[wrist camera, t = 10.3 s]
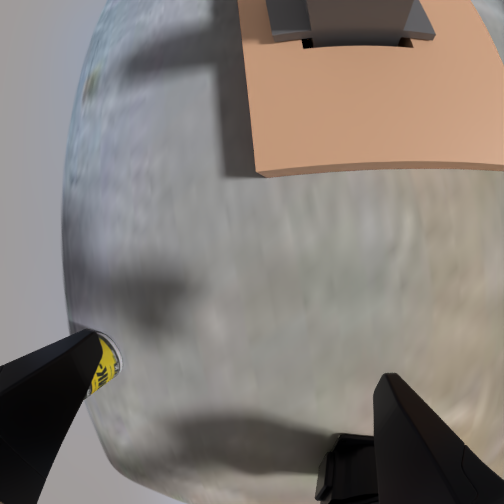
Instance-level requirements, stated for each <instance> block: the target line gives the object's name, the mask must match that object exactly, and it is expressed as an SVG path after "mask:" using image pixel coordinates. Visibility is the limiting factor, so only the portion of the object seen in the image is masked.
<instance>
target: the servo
mask: <svg viewBox="0 0 504 504" xmlns="http://www.w3.org/2000/svg"><path fill="white" fill-rule="evenodd" d="M266 5H267V10H268V16H269V21H270V26H271V32H272V36H273V39H274V41H275V42H281V41H288V40H296V39H305V38H310V39H311V43H312V48H320V47H335V46H392V47H397V46H398V43H399V41H400V38H401V37H405V38H416V39H424V40H432V41H433V39H434V37H435V36H436V33H435V31H434V29H433V27H432V25H431V22H430V20H429V18H428V16H427V14H426V12H425V11H424V9H423V7H422V5H421V3H420V1H419V0H266Z"/></svg>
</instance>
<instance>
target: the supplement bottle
mask: <svg viewBox="0 0 504 504" xmlns="http://www.w3.org/2000/svg"><path fill="white" fill-rule="evenodd" d="M97 334H98V336H99V339H100V342H101V345H102V348H103V356H102V359H101V361H100V363H99V366H98V368H97V370H96V373H95V375H94V378H93V380H92V383H91V385H90V387H89V390H88V392H87V394H86V396H85V398H84V399H86V398H87V397H88V396H90V395H91V394H92V393H94V392H95V391H96V390H98V389H99V388H100V387H102V386H103V385H105V384H106V383H107V382H109V381H110V380H111V379H113V378H114V377H115V376H117V375H118V374H119V373H120V372H121V370H122V365H123V364H122V358H121V355H120V352H119V350H118V348H117V346H116V345H115V343H114V342H113V341H112V340H111V339H110V338H109V337H108V336H106V335H104V334H102V333H97Z"/></svg>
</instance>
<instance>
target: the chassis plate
mask: <svg viewBox="0 0 504 504" xmlns="http://www.w3.org/2000/svg"><path fill="white" fill-rule="evenodd" d="M419 1H420V3H421V5H422V7H423V9H424V11H425V12H426V14H427V16H428V18H429V20H430V22H431V25H432V27H433V29H434V31H435V33H436V36H435V37H434V39H433V41H432V40H424V39H416V38H405V37H401V38H400V41H399V43H398V46H397V47H392V46H335V47H320V48H308V49H303V45H302V41H301V39H296V40H288V41H281V42H275V41H274V39H273V36H272V32H271V26H270V21H269V16H268V10H267V5H266V0H237V2H238V10H239V18H240V27H241V35H242V44H243V53H244V62H245V71H246V80H247V89H248V99H249V108H250V118H251V127H252V137H253V147H254V157H255V167H256V172H257V173H259V174H261V175H263V176H265V177H266V178H271V177H281V176H290V175H301V174H312V173H325V172H339V171H356V170H377V169H471V170H491V171H504V65H503V63H502V60H501V58H500V56H499V53H498V51H497V49H496V47H495V45H494V42H493V40H492V38H491V36H490V34H489V32H488V30H487V28H486V26H485V25H484V23H483V21H482V19H481V17H480V15H479V14H478V12H477V10H476V9H475V7H474V5H473V4H472V2H471V0H419Z"/></svg>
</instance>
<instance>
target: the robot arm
mask: <svg viewBox="0 0 504 504" xmlns="http://www.w3.org/2000/svg"><path fill="white" fill-rule="evenodd" d="M102 356H103V348H102V345H101V342H100V339H99V336H98V334H97V332H95V331H93V330H89V329H84V330H82V331H80V332H77V333H75V334H73V335H71V336H68V337H66V338H64V339H62V340H59V341H57V342H55V343H53V344H50V345H48V346H45V347H43V348H41V349H39V350H37V351H34V352H32V353H30V354H28V355H25V356H23V357H20V358H18V359H16V360H13V361H11V362H9V363H7V364H5V365H2V366H0V504H37V501H38V499H39V496H40V494H41V491H42V489H43V486H44V484H45V481H46V478H47V476H48V474H49V471H50V469H51V467H52V464H53V462H54V460H55V457H56V455H57V453H58V451H59V449H60V447H61V444H62V442H63V440H64V438H65V436H66V434H67V432H68V430H69V428H70V425H71V424H72V421H73V419H74V417H75V415H76V413H77V411H78V410H79V408H80V406H81V404H82V402H83V400H84V398H85V396H86V394H87V392H88V390H89V387H90V385H91V383H92V380H93V378H94V375H95V373H96V370H97V368H98V366H99V363H100V361H101V359H102ZM373 409H374V437H363V436H353V435H341V436H339V438H338V440H337V441H336V443H335V445H334V447H333V449H332V451H329V452H328V453H327V454H326V456H325V458H324V460H323V461H322V463H321V465H320V467H319V472H318V480H317V487H316V493H315V499H316V500H317V501H321V503H320V504H504V480H503V479H502V478H501V477H499V476H498V475H497V474H496V473H495V472H493V471H492V470H491V469H490V468H489V467H488V466H487V465H486V464H484V463H483V462H482V461H481V460H480V459H479V458H478V457H477V456H476V455H475V454H474V453H473V452H472V451H471V450H470V448H469V447H468V446H467V445H464V442H463V441H462V440H461V439H460V438H459V437H458V436H457V435H456V434H455V433H454V432H453V431H452V430H451V429H450V428H449V426H448V425H447V424H446V423H445V422H444V421H443V420H442V419H441V418H440V417H439V416H438V415H437V414H436V413H435V412H434V411H433V410H432V409H431V408H430V407H429V406H428V405H427V404H426V403H425V402H424V401H423V399H422V398H421V397H420V396H419V395H418V394H417V393H416V392H415V391H414V390H413V389H412V388H411V387H410V386H409V385H408V384H407V383H406V382H405V381H404V380H403V379H402V378H401V377H400V376H399V375H398V374H397V373H384V374H383V375H382V377H381V379H380V381H379V383H378V384H377V386H376V388H375V391H374V394H373Z"/></svg>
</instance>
